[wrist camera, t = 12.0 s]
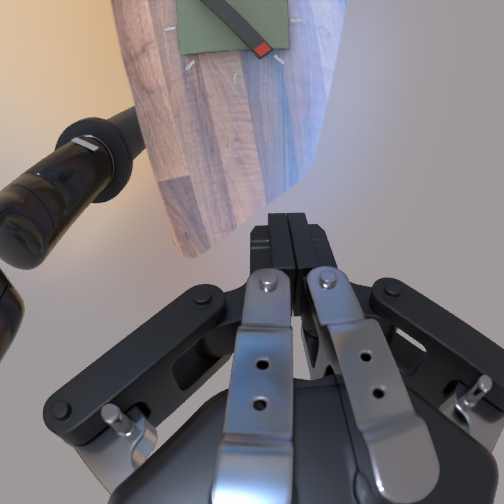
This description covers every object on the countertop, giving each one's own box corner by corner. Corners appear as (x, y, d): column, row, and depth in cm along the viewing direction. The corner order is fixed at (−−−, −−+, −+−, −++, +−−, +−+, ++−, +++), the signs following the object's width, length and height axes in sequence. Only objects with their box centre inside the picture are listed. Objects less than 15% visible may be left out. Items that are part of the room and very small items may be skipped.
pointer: (194, -5, 23) (185, -14, 19) (205, -13, 22) (198, -24, 18) (259, 59, 28) (260, 59, 24) (270, 51, 27) (273, 49, 23)
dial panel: (175, 87, 32) (168, 90, 29) (168, -20, 23) (161, -25, 20) (300, 81, 32) (304, 82, 29) (296, -28, 22) (300, -35, 20)
